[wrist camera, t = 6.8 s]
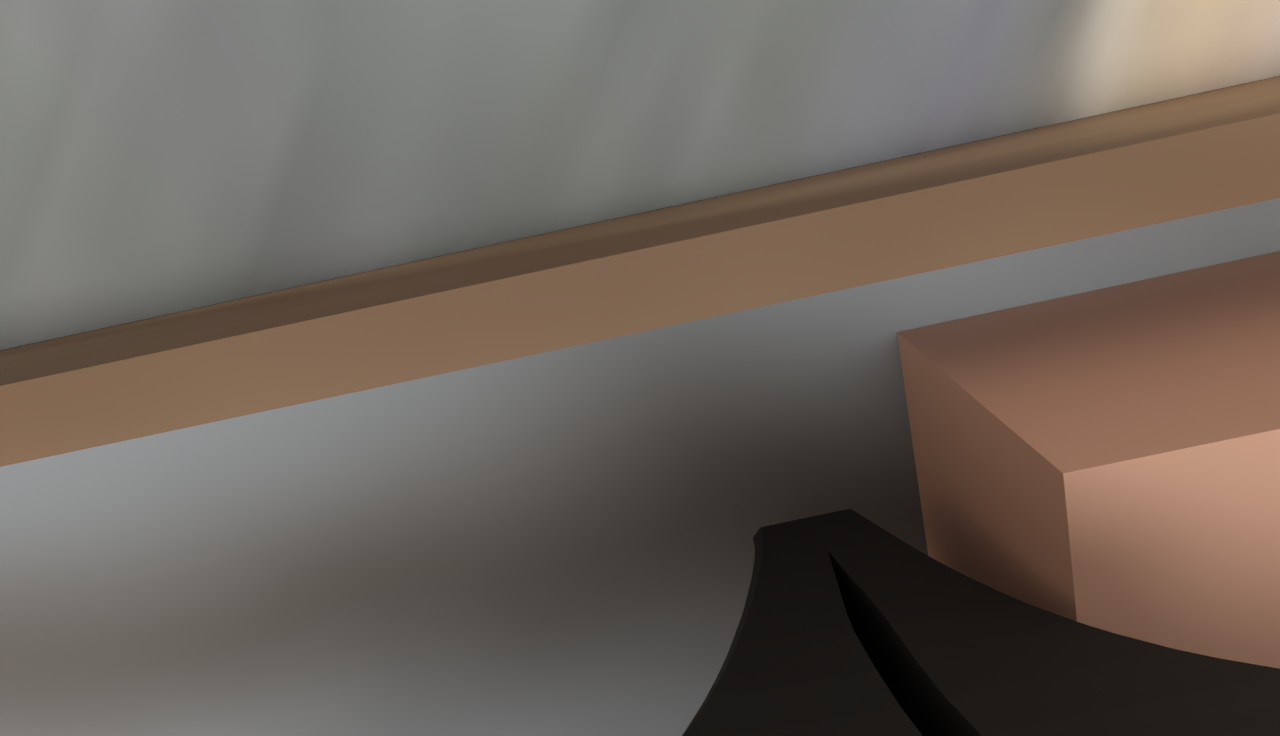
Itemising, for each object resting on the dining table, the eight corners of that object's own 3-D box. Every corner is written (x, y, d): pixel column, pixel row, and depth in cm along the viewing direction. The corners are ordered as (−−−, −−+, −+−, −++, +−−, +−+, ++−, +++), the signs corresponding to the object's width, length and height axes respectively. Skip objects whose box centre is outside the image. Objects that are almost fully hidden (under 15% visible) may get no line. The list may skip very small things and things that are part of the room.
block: (1309, 603, 13) (1660, 862, 9) (944, 675, 13) (1109, 965, 9) (1303, 245, 11) (1721, 338, 7) (896, 332, 12) (1062, 473, 7)
